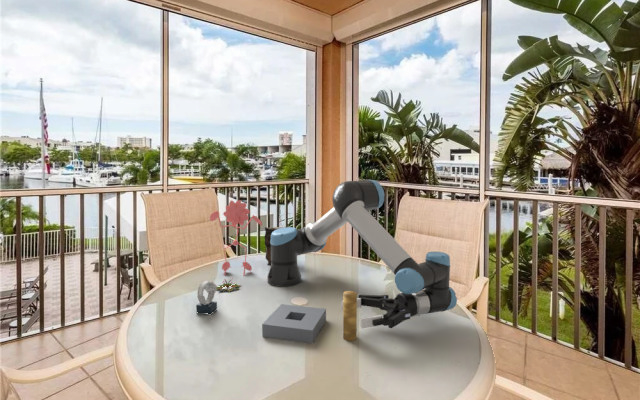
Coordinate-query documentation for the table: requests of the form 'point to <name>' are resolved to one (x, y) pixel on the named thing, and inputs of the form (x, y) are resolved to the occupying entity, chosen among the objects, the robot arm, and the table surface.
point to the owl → (267, 242)
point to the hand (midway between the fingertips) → (350, 313)
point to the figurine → (235, 215)
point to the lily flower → (227, 285)
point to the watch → (207, 304)
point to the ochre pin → (349, 315)
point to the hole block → (294, 323)
